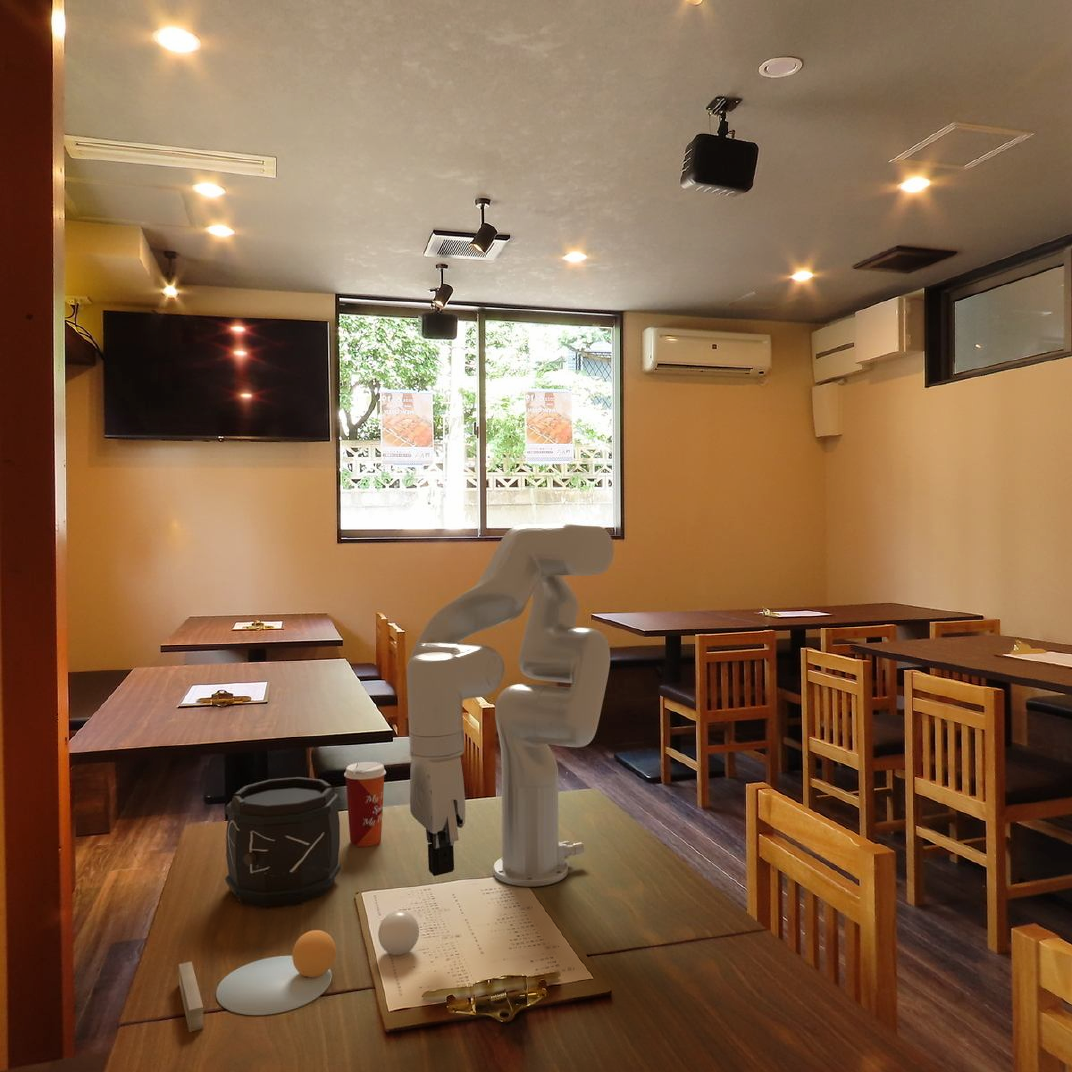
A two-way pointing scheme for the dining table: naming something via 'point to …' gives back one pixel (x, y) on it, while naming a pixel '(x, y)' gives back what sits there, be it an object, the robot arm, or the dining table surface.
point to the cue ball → (398, 932)
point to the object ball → (314, 953)
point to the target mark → (269, 987)
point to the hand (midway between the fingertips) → (441, 871)
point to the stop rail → (190, 997)
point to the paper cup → (365, 802)
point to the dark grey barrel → (282, 841)
